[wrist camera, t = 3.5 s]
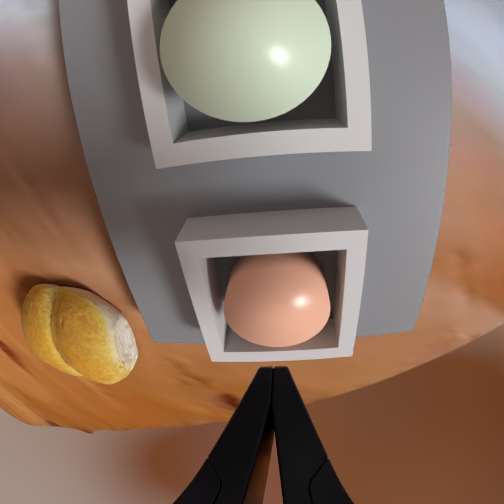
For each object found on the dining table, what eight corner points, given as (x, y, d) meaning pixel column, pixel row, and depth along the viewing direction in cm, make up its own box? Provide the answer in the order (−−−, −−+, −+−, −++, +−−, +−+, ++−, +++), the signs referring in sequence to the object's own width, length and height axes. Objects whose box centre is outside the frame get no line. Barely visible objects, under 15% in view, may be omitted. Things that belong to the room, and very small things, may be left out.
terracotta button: (325, 240, 12) (332, 266, 10) (324, 316, 14) (327, 344, 12) (221, 246, 12) (214, 272, 11) (236, 320, 14) (232, 348, 13)
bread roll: (19, 274, 18) (-11, 309, 14) (119, 283, 17) (90, 331, 14) (60, 351, 22) (41, 386, 19) (151, 368, 21) (136, 412, 18)
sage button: (312, -18, 6) (320, -35, 5) (326, 108, 8) (337, 116, 7) (172, 0, 6) (151, -12, 5) (190, 121, 9) (173, 132, 7)
